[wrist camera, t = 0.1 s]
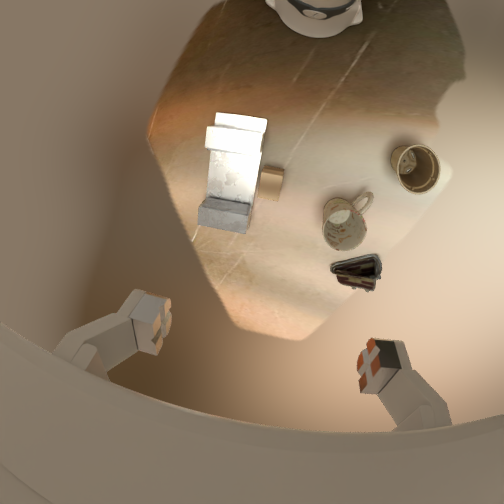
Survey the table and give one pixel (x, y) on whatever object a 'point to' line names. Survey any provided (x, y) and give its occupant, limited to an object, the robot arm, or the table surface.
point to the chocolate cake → (359, 272)
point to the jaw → (224, 215)
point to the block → (270, 183)
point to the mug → (345, 223)
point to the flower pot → (416, 168)
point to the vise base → (234, 157)
